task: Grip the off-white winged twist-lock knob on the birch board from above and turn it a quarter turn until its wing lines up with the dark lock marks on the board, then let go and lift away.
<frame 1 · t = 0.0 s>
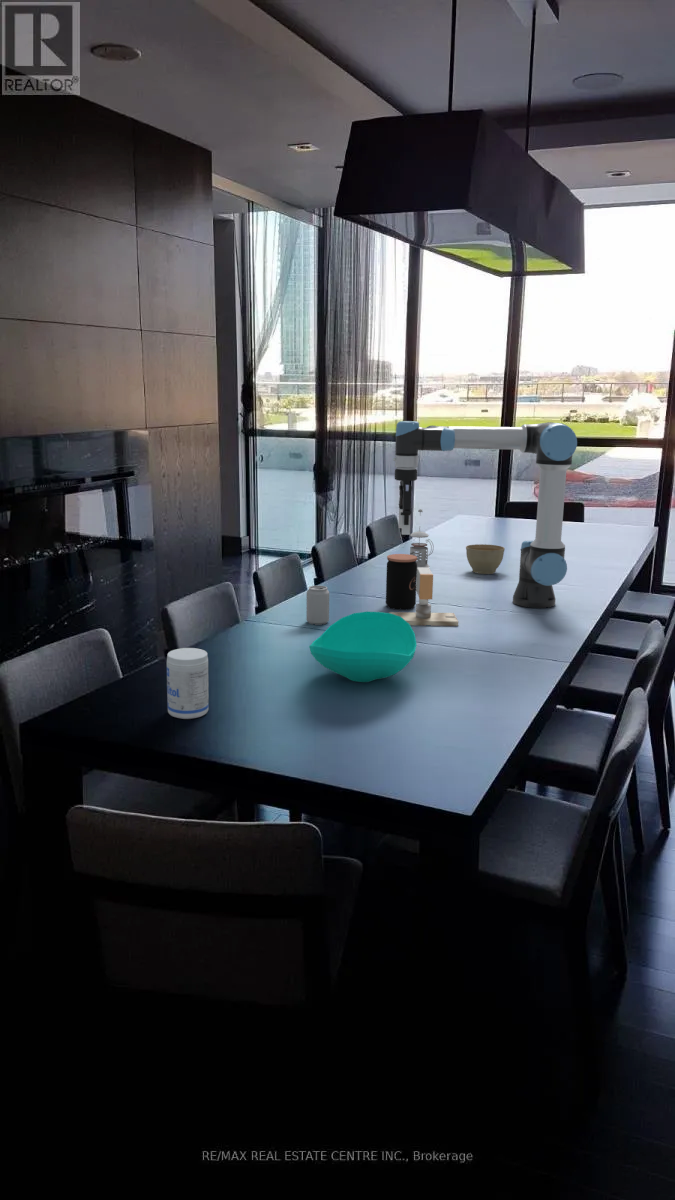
hand: (404, 531, 293), 28 cm above the table, tool pointing down, fingers open, 13 cm apart
supplement tub: (188, 713, 203), on the table
lock board: (422, 621, 287), on the table
planter bowl: (483, 572, 365), on the table
can: (317, 623, 283), on the table
french press: (420, 566, 376), on the table
table top decor: (362, 678, 230), on the table
twist knob: (424, 587, 284), point 11 cm above the table, hinge at 0.0°
coffee jar: (400, 607, 306), on the table
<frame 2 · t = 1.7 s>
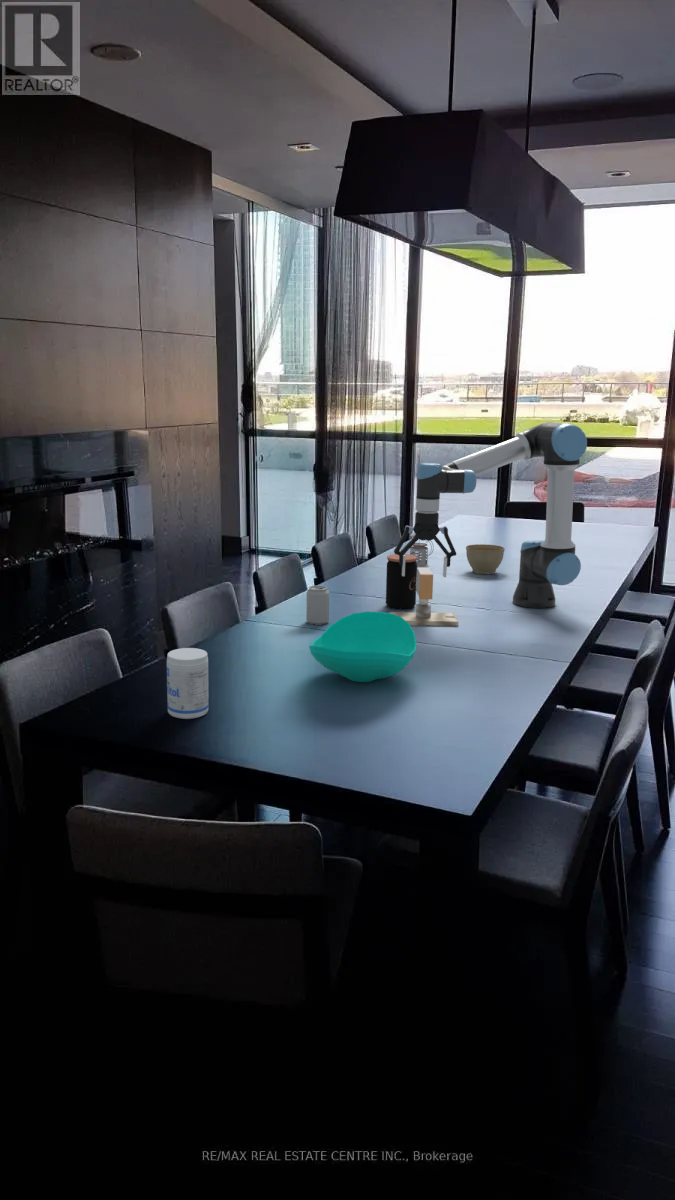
hand: (423, 576, 283), 15 cm above the table, tool pointing down, fingers open, 13 cm apart
nothing on the table moved.
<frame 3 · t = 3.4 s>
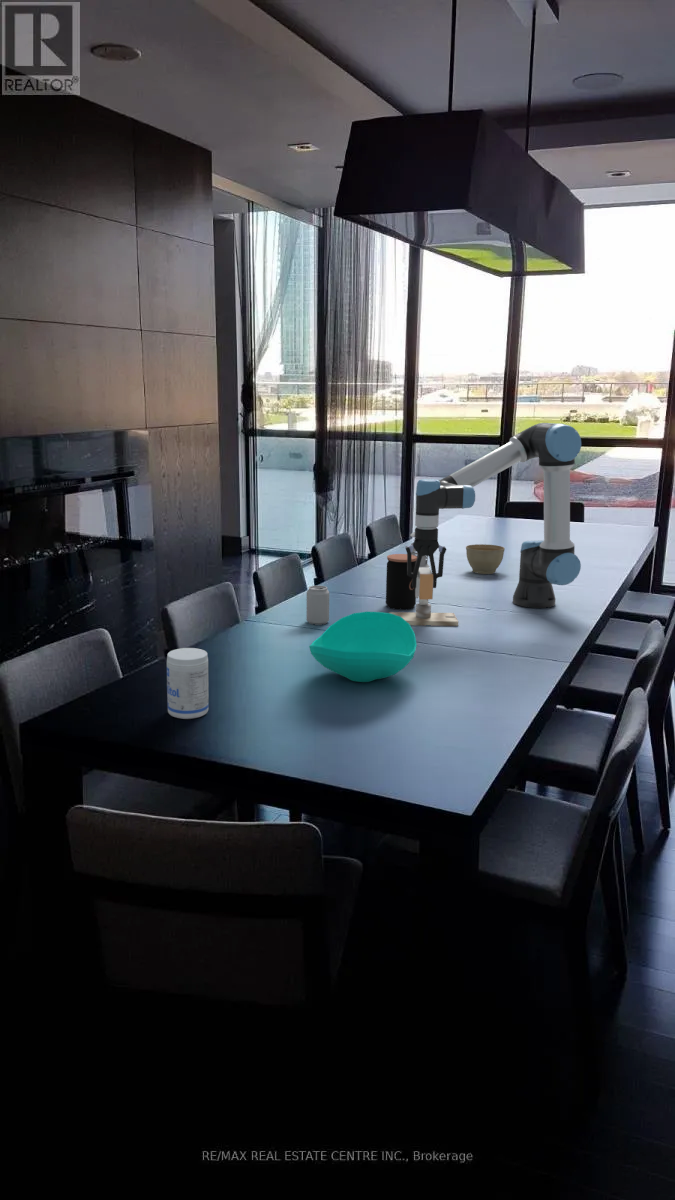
hand: (423, 597, 285), 8 cm above the table, tool pointing down, fingers closed on twist knob, 4 cm apart
twist knob: (424, 587, 284), point 11 cm above the table, hinge at 0.0°, touching gripper
everything else where it was.
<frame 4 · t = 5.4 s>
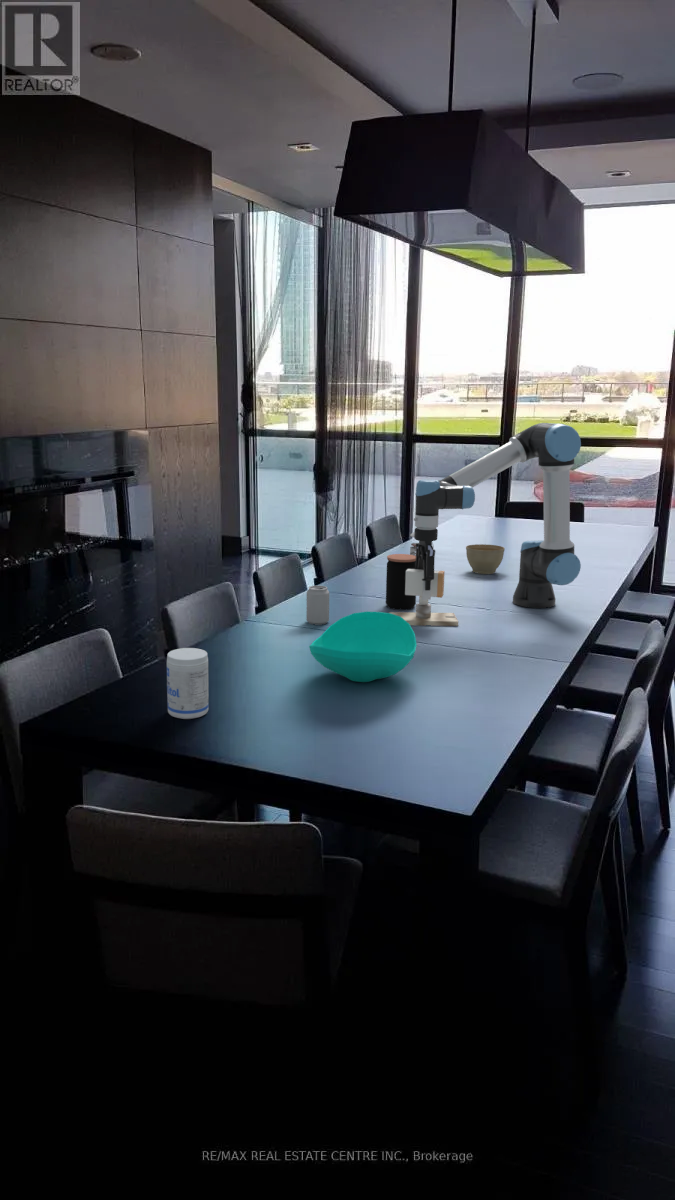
hand: (423, 597, 285), 8 cm above the table, tool pointing down, fingers closed on twist knob, 6 cm apart
twist knob: (424, 587, 284), point 11 cm above the table, hinge at 75.4°, touching gripper
everything else where it was.
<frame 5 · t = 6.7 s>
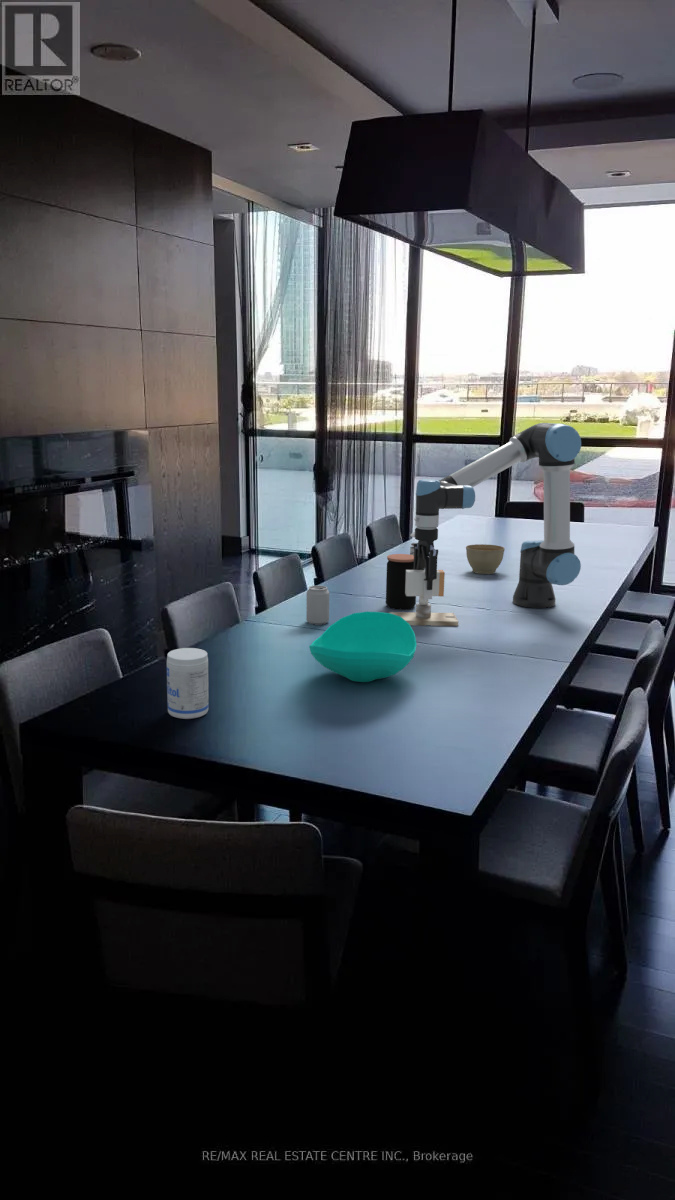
hand: (423, 597, 285), 8 cm above the table, tool pointing down, fingers closed on twist knob, 5 cm apart
twist knob: (424, 587, 284), point 11 cm above the table, hinge at 92.5°, touching gripper
everything else where it was.
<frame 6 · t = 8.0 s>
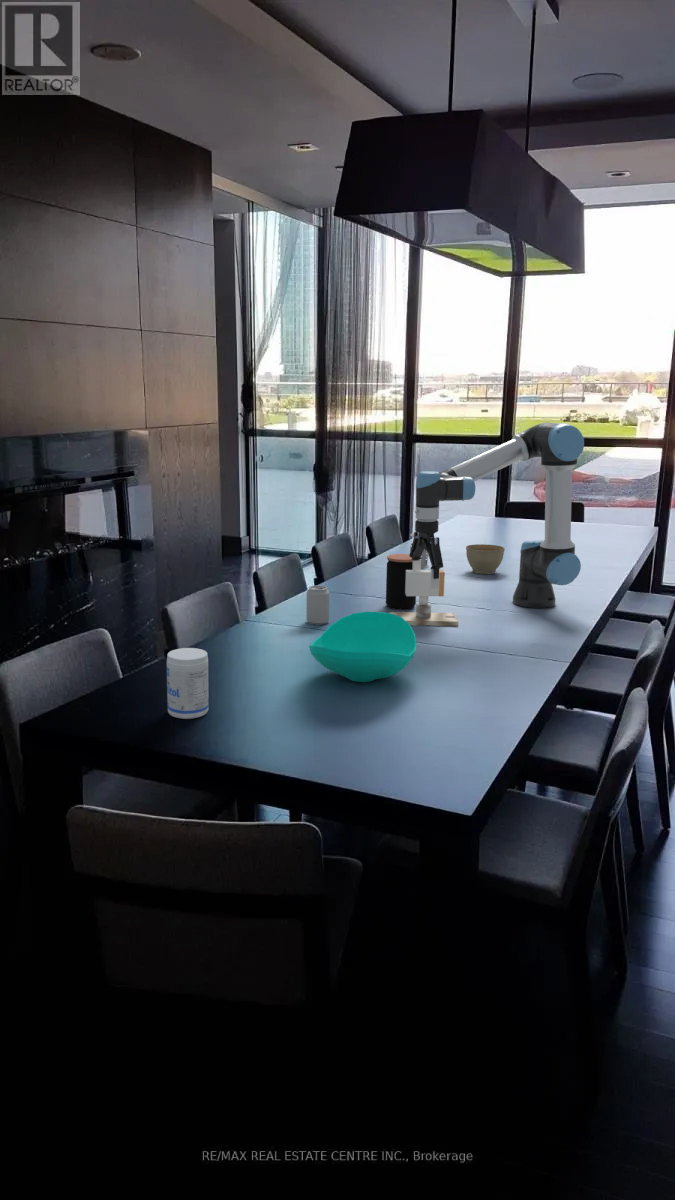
hand: (425, 583, 284), 13 cm above the table, tool pointing down, fingers open, 13 cm apart
twist knob: (424, 587, 284), point 11 cm above the table, hinge at 93.0°
everything else where it was.
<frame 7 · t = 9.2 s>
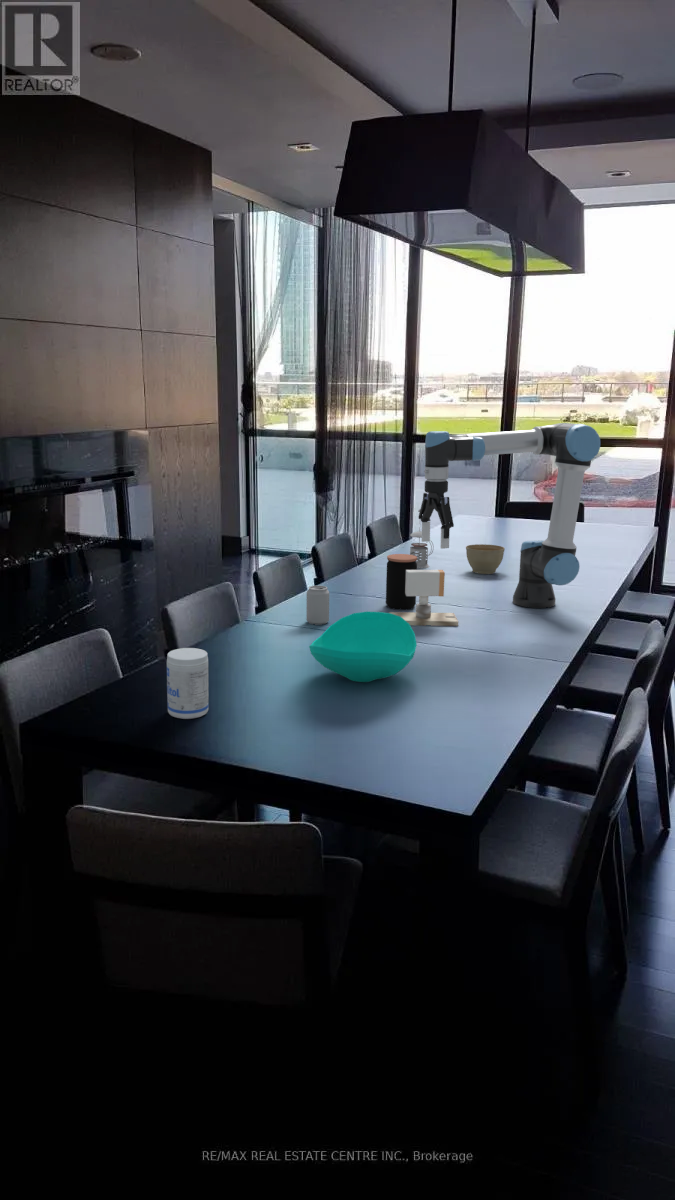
hand: (435, 544, 283), 25 cm above the table, tool pointing down, fingers open, 13 cm apart
nothing on the table moved.
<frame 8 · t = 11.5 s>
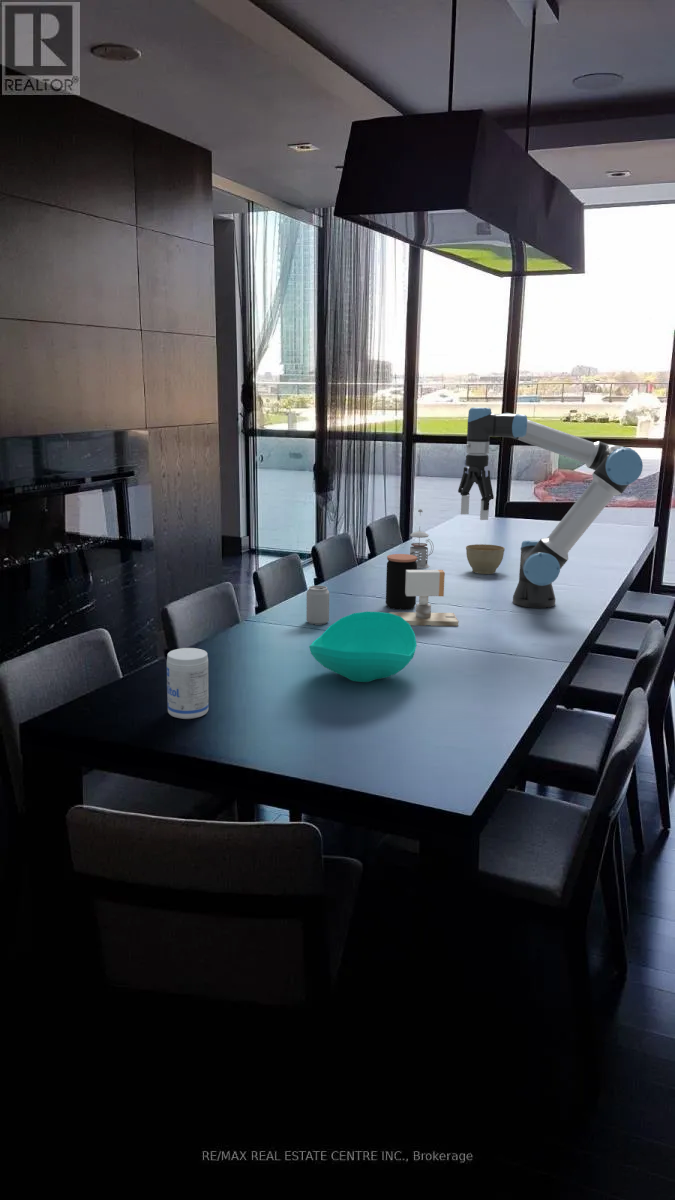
hand: (474, 517, 295), 33 cm above the table, tool pointing down, fingers open, 13 cm apart
nothing on the table moved.
at the end: twist knob at +93° (first picture: +0°); the gripper is holding nothing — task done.
